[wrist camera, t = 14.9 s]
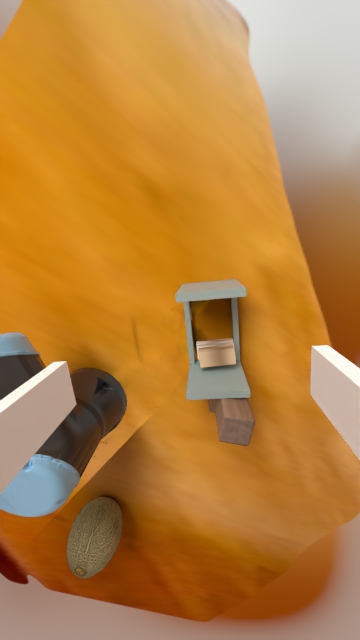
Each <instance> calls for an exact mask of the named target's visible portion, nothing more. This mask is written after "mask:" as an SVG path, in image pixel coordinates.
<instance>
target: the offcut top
mask: <svg viewBox="0 0 360 640" xmlns="http://www.w3.org/2000/svg"><path fill="white" fill-rule="evenodd" d="M198 355H199V361H200V368H204V367H213V366H222V365H231V364H236V359H235V350H234V346H233V344H229V345H220V346H212V347H204V348H198Z"/></svg>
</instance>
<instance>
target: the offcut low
mask: <svg viewBox="0 0 360 640" xmlns="http://www.w3.org/2000/svg"><path fill="white" fill-rule="evenodd" d="M228 340H233V339H232V338H226V339H213V340H200V341H197V343H196V345H197V348H198V345H202V344H208V343H215V342H221V341H228ZM233 343H234V342H233ZM197 355H198V350H197ZM198 359H199V355H198Z"/></svg>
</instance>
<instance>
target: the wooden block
mask: <svg viewBox="0 0 360 640" xmlns="http://www.w3.org/2000/svg"><path fill="white" fill-rule="evenodd" d="M208 401H209V411H210V412H214V413H216V418H217V427H218V435H219V440H220V441H221V442H226V443H232V444H238V445H244V446H248V445H249V443H250V439H251V435H252V431H253V428H254V424H255V420H254V417H253V414H252V411H251V408H250V405H249V402H248V399H247V398H224V399H208Z"/></svg>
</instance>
